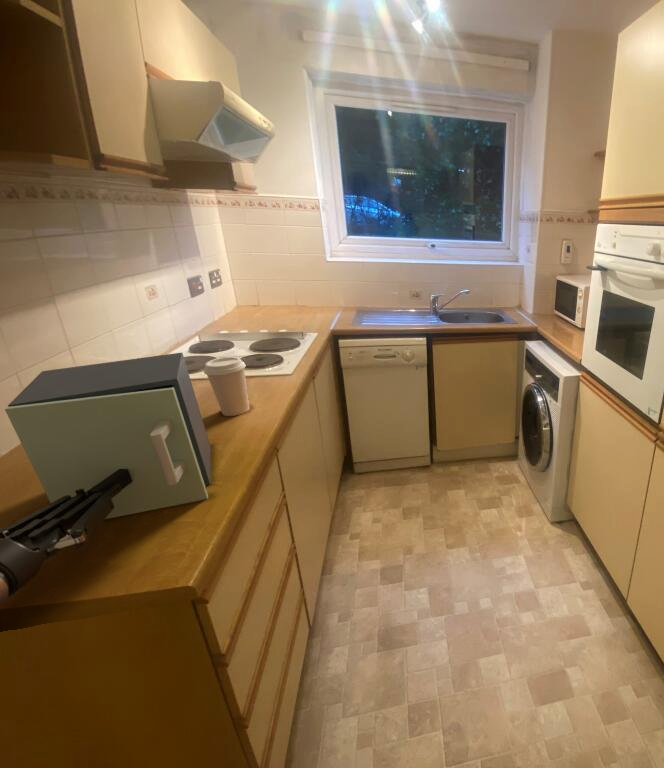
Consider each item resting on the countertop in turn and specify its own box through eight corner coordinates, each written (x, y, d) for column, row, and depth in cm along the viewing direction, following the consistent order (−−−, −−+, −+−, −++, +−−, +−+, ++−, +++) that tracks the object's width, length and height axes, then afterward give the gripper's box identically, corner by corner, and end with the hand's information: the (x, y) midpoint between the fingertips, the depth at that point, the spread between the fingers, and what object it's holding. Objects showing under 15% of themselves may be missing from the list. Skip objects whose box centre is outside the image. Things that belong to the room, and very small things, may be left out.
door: (200, 518, 80) (161, 402, 71) (45, 551, 72) (-21, 425, 63) (208, 497, 86) (173, 387, 77) (65, 525, 78) (8, 406, 69)
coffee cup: (261, 403, 126) (249, 354, 120) (248, 418, 117) (235, 366, 112) (225, 406, 124) (211, 356, 119) (209, 421, 116) (194, 368, 110)
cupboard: (210, 486, 89) (177, 378, 80) (65, 525, 78) (7, 405, 69) (211, 447, 103) (182, 352, 94) (88, 476, 92) (42, 371, 83)
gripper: (-58, 603, 57) (96, 493, 79) (45, 600, 57) (169, 492, 79) (-88, 559, 54) (80, 457, 76) (20, 557, 54) (156, 456, 76)
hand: (125, 475), depth 77 cm, fingers closed
